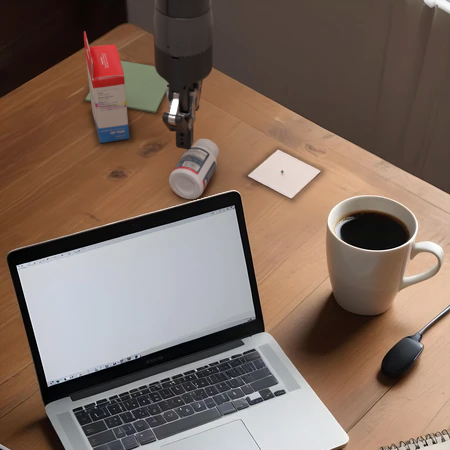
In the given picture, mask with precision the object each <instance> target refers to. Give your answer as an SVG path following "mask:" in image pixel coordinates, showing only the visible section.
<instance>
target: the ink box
mask: <svg viewBox="0 0 450 450" xmlns="http://www.w3.org/2000/svg"><path fill="white" fill-rule="evenodd" d="M83 42H84V43H83V44H84V52H85V61H86V69H87V78H88V87H89V92H90V96H91V102H90V103H91V112H92V116H93V120H94V124H95V129H96V133H97V137H98V141H99V143H100V144H105V143H111V142H118V141H119V142H120V141H125V140H130V138H131V137H130V129H129V117H128V108H127V105H126V93H125V81H124V72H123V69H122V65H121V61H122V60H121V58H120V55H119V50H118V48H117V45H116V44H102V45H95V46H90V45H89V41H88V37H87V33H86V31H83Z"/></svg>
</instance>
